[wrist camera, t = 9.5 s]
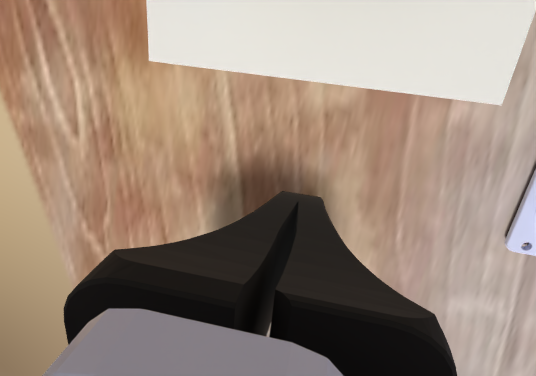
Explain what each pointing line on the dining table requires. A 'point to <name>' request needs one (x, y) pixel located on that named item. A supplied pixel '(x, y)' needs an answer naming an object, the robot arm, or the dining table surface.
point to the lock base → (351, 42)
